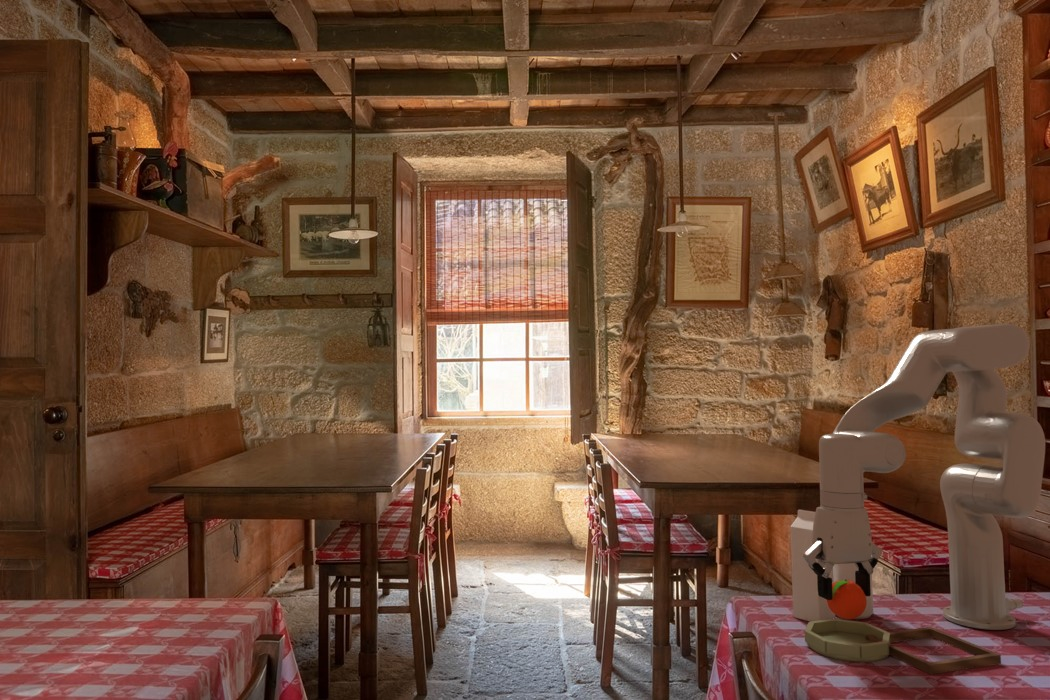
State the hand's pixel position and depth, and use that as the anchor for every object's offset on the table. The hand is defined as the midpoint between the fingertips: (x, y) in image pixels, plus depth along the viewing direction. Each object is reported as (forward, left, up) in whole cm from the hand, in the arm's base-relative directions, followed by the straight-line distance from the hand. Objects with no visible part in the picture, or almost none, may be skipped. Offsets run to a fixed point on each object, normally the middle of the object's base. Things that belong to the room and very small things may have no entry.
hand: (844, 595), depth 133 cm
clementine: (0, 0, -4) cm, 4 cm away
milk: (-5, -16, -10) cm, 20 cm away
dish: (0, 0, -9) cm, 10 cm away
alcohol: (-14, -16, -10) cm, 24 cm away
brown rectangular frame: (-12, +7, -9) cm, 17 cm away
